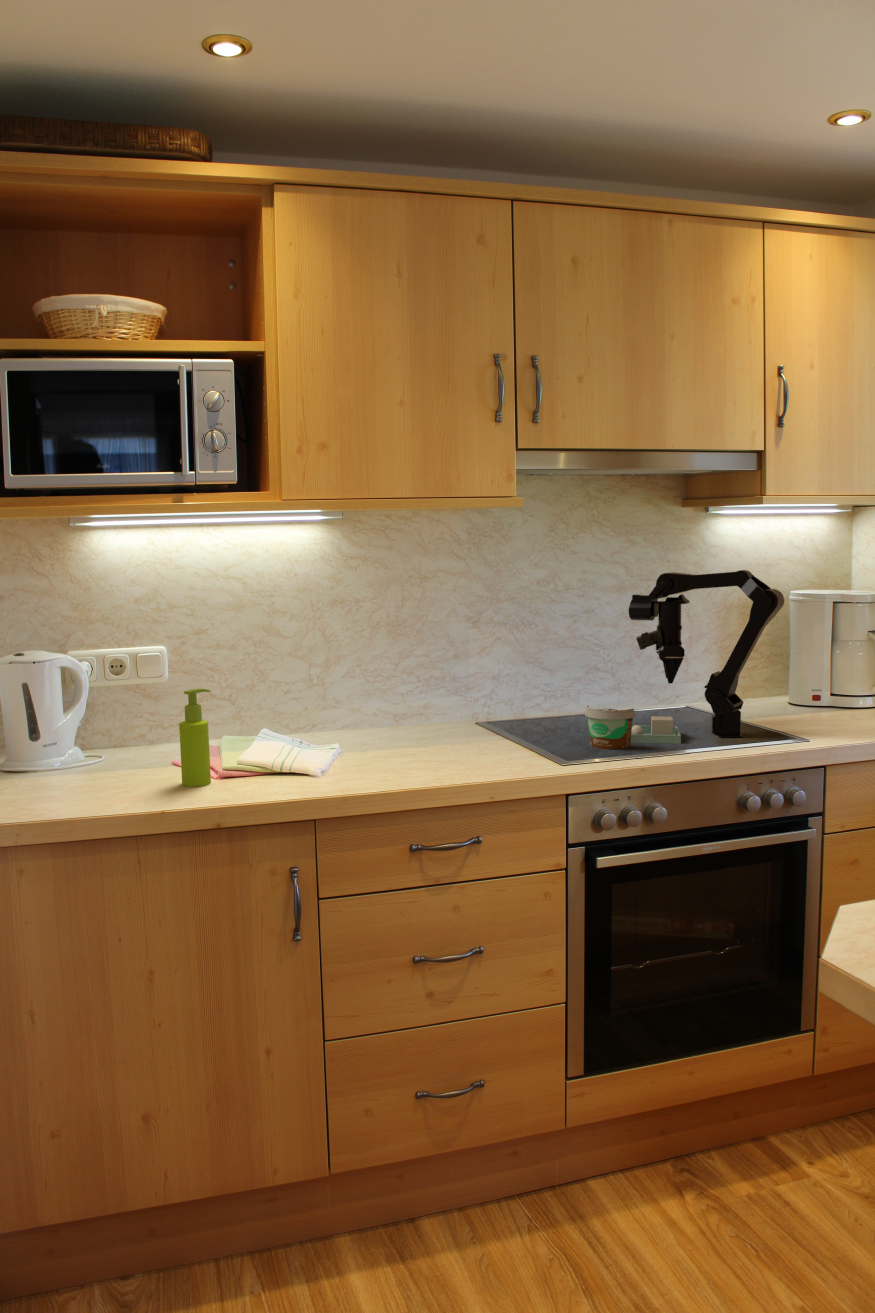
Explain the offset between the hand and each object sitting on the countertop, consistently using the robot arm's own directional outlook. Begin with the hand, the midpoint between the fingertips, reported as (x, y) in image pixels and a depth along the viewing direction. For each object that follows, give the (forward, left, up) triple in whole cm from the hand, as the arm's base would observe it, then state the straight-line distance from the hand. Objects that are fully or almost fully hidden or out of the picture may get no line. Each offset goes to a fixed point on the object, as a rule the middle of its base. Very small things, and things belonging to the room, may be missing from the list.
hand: (669, 680), depth 243 cm
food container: (+16, +26, -13) cm, 33 cm away
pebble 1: (+9, +12, -12) cm, 19 cm away
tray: (+5, +14, -13) cm, 20 cm away
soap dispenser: (+101, +67, -13) cm, 122 cm away
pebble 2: (+9, +16, -12) cm, 22 cm away
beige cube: (+3, +14, -12) cm, 19 cm away
